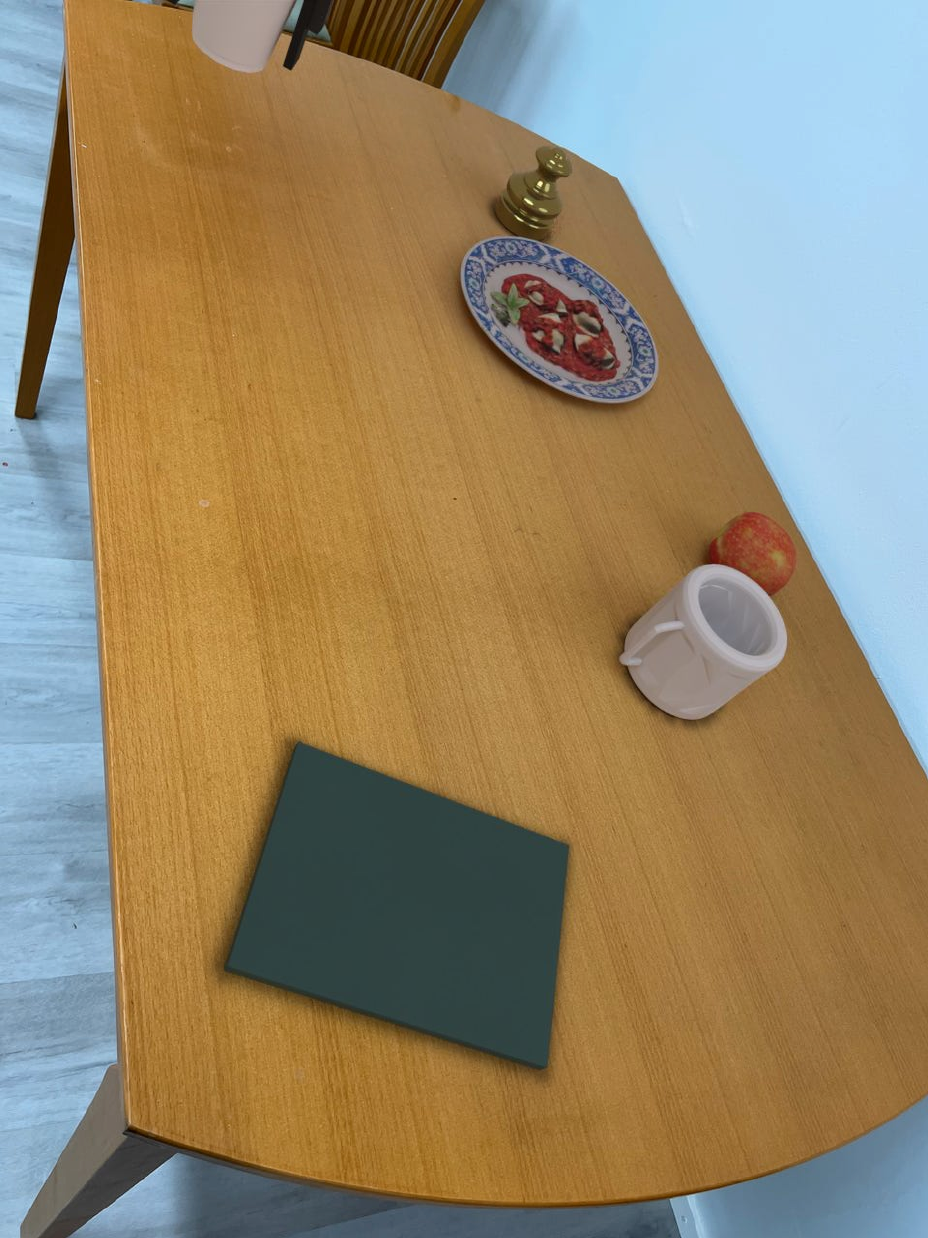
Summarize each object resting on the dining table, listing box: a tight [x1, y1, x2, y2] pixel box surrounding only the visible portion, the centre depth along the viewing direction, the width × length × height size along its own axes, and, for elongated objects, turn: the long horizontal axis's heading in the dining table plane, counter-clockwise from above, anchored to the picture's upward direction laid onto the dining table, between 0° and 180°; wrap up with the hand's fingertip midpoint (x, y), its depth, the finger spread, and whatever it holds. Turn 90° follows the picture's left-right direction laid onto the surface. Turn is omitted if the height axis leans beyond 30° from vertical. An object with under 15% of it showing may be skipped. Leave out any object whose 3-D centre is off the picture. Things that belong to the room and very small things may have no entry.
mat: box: [223, 741, 570, 1071], centre depth 66 cm, size 22×16×1 cm
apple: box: [707, 511, 797, 597], centre depth 99 cm, size 8×8×8 cm
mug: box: [618, 564, 788, 720], centre depth 86 cm, size 14×11×10 cm
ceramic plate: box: [459, 235, 660, 404], centre depth 111 cm, size 26×26×3 cm
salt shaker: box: [494, 145, 574, 241], centre depth 118 cm, size 7×7×10 cm
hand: (234, 29), depth 80 cm, fingers closed on foam cup, 9 cm apart
